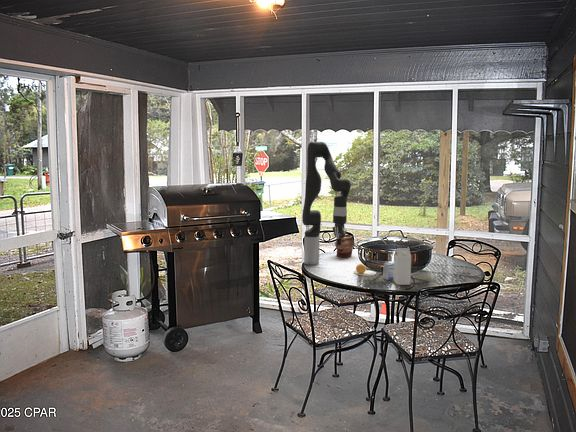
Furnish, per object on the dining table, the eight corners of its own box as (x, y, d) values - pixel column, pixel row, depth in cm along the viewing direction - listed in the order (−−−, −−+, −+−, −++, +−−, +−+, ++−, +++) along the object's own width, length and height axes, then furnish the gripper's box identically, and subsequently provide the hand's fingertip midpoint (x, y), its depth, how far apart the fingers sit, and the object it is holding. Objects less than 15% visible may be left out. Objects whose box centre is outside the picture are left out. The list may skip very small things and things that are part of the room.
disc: (349, 271, 292) (349, 270, 292) (368, 269, 297) (368, 269, 297) (360, 276, 280) (360, 276, 280) (380, 274, 285) (380, 274, 285)
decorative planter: (339, 252, 346) (340, 232, 344) (356, 253, 342) (357, 233, 340) (331, 257, 328) (332, 237, 326) (349, 259, 323) (350, 238, 321)
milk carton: (393, 281, 271) (394, 247, 268) (405, 281, 272) (407, 247, 269) (397, 285, 264) (398, 249, 261) (410, 284, 265) (411, 249, 262)
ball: (358, 274, 290) (352, 269, 288) (363, 266, 291) (357, 261, 289) (364, 276, 285) (357, 271, 283) (369, 268, 286) (363, 263, 284)
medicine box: (387, 280, 273) (388, 264, 272) (382, 278, 277) (383, 263, 276) (399, 278, 277) (399, 263, 276) (393, 277, 281) (394, 261, 280)
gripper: (328, 213, 283) (327, 243, 286) (339, 216, 271) (338, 247, 274) (340, 212, 286) (339, 242, 288) (351, 216, 274) (350, 247, 276)
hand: (338, 245), depth 281 cm, fingers closed
